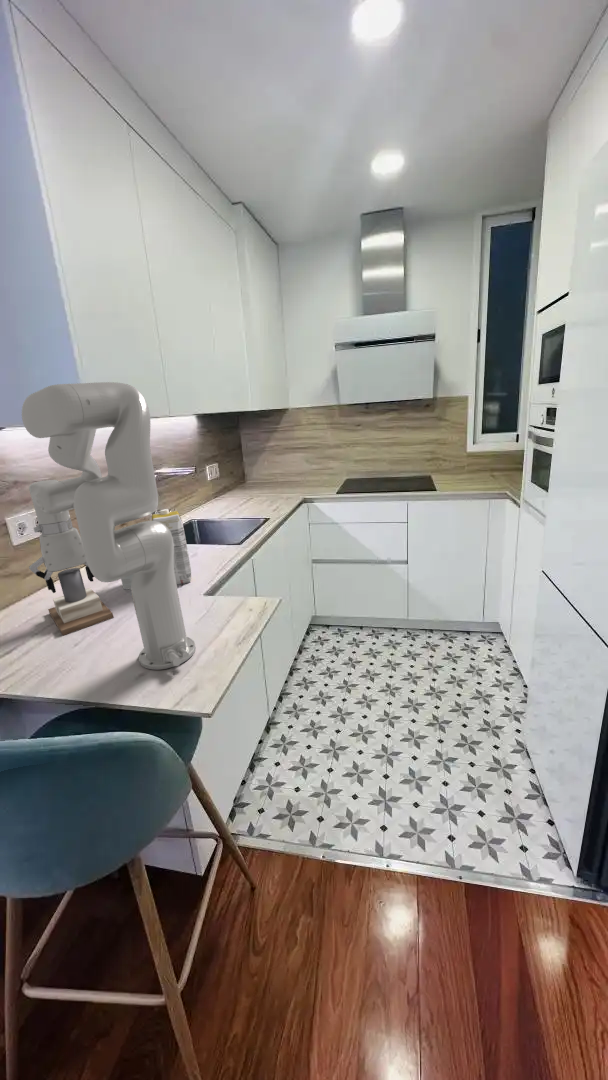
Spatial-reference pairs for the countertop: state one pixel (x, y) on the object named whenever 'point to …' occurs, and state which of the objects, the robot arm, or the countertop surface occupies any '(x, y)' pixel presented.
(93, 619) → the plinth base
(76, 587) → the charcoal cylinder
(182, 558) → the juice carton
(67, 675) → the countertop surface
